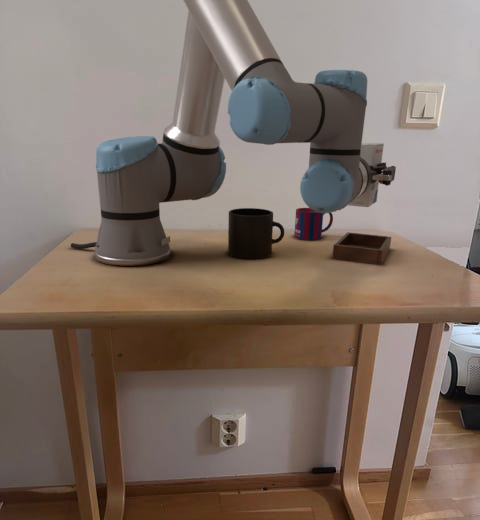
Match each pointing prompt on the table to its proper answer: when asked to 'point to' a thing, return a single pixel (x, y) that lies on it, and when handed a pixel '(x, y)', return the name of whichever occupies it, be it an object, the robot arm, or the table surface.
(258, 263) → the table surface
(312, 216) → the cup
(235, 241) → the mug
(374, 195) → the ink box
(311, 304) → the table surface
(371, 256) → the wooden tray
